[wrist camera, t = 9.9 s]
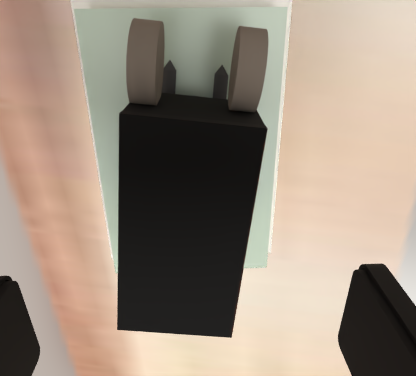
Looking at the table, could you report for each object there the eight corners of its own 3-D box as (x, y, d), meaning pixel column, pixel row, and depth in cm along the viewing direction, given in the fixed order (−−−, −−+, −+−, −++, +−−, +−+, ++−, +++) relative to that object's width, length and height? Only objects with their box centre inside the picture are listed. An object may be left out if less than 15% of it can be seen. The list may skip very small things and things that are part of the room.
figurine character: (134, 26, 20) (132, 262, 25) (103, 3, 12) (109, 345, 17) (254, 37, 20) (228, 266, 25) (292, 22, 13) (244, 348, 18)
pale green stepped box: (87, -6, 24) (49, -14, 17) (277, -7, 24) (309, -16, 18) (120, 231, 32) (103, 284, 26) (261, 227, 32) (279, 277, 26)
